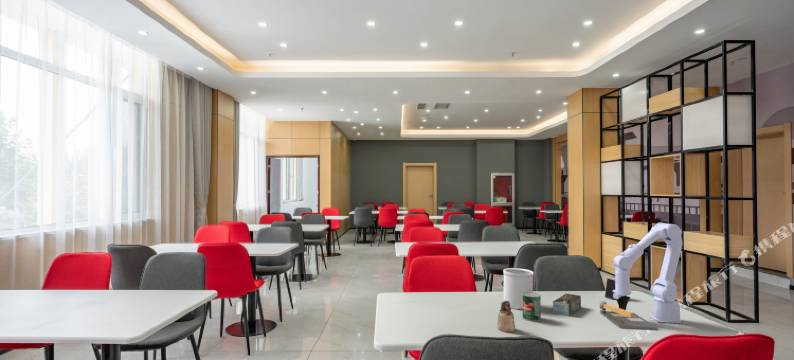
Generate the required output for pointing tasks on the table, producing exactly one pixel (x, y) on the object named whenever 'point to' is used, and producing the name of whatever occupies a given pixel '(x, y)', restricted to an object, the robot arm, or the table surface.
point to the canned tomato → (531, 306)
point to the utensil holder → (517, 285)
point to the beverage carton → (567, 304)
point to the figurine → (506, 318)
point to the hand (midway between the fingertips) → (622, 312)
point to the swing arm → (615, 309)
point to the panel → (627, 320)
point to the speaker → (610, 288)
